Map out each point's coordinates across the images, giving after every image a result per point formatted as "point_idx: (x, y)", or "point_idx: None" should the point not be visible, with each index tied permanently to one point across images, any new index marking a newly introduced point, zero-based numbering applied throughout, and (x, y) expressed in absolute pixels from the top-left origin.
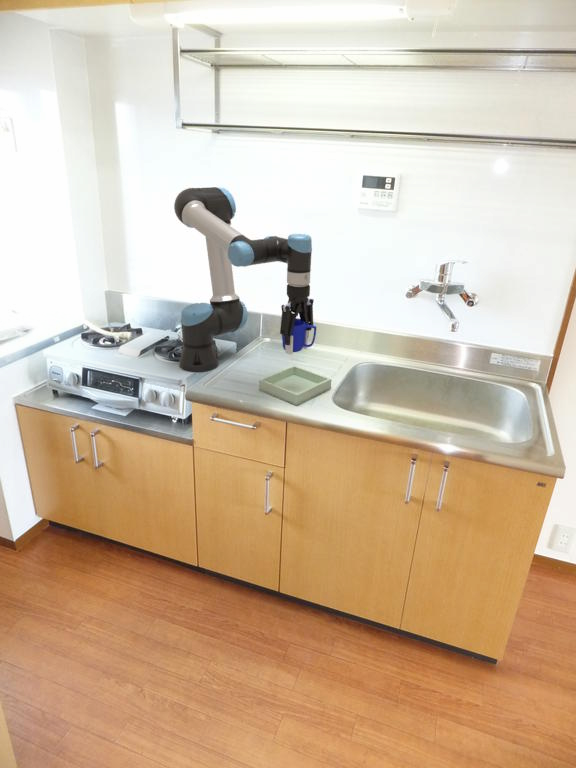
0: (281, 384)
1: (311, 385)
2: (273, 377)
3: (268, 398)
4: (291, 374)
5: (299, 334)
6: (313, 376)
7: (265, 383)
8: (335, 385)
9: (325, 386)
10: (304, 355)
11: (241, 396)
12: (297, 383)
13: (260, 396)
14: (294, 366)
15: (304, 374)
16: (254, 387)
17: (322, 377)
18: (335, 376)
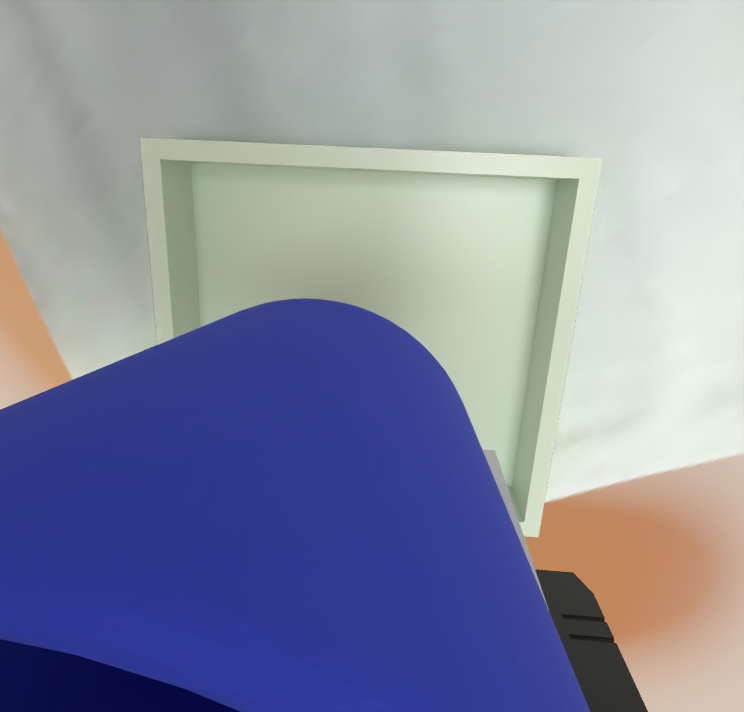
0: (337, 231)
1: (465, 398)
2: (303, 166)
3: (144, 285)
4: (527, 178)
5: None
6: (538, 387)
7: (151, 216)
8: (590, 485)
9: None
10: None
11: (22, 122)
12: (429, 309)
13: (124, 225)
14: (582, 179)
15: (548, 297)
16: (187, 81)
17: (530, 472)
18: (734, 413)
